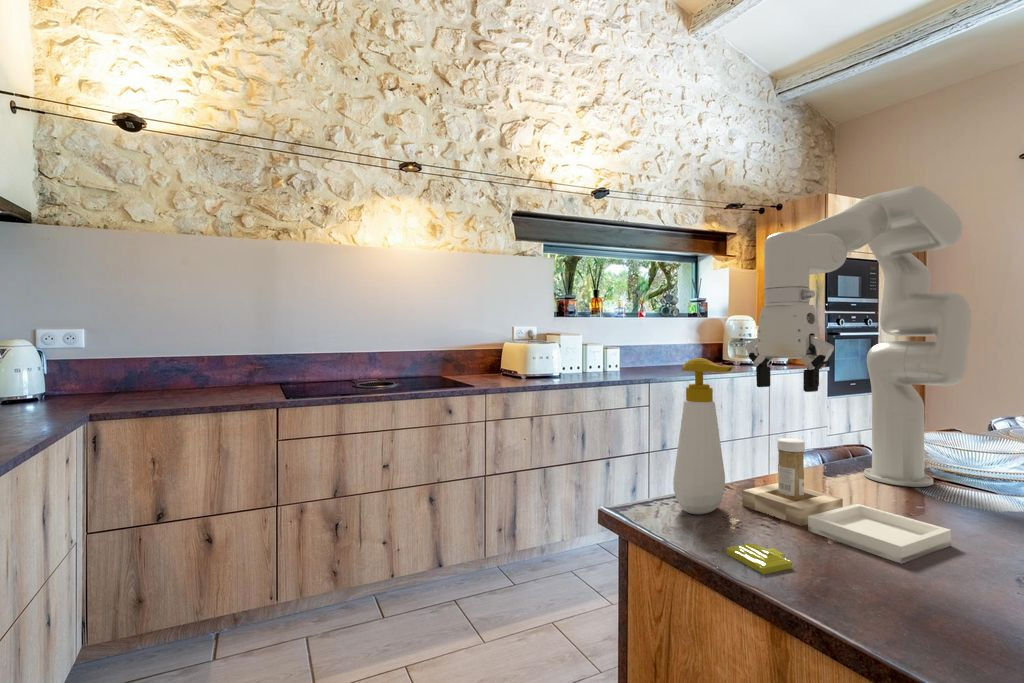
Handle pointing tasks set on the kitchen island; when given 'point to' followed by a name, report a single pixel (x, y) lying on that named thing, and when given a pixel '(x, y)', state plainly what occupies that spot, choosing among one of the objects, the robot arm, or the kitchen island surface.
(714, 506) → the soap bottle
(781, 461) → the sprinkles bottle
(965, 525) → the kitchen island surface
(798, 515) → the socket holder
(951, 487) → the kitchen island surface
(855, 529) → the tray
